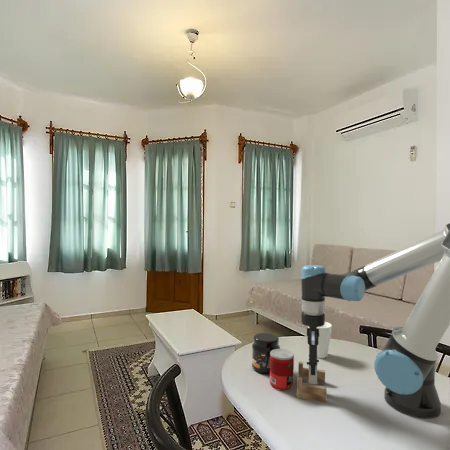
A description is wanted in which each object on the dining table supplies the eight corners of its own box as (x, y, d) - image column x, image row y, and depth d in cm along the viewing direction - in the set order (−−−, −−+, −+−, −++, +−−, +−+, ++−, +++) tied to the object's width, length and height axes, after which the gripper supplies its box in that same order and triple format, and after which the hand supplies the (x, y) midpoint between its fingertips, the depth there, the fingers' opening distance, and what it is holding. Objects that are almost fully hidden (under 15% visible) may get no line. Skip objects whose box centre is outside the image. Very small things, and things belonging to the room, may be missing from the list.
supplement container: (248, 363, 128) (248, 333, 127) (273, 361, 130) (273, 331, 130) (256, 376, 117) (257, 343, 117) (284, 373, 120) (284, 341, 120)
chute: (324, 381, 114) (325, 364, 114) (326, 401, 101) (326, 382, 101) (298, 378, 116) (298, 361, 116) (296, 397, 104) (297, 378, 104)
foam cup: (303, 351, 140) (304, 321, 139) (322, 349, 142) (322, 319, 142) (316, 361, 131) (316, 328, 130) (335, 358, 133) (336, 326, 133)
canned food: (291, 392, 107) (292, 359, 106) (267, 388, 109) (268, 355, 109) (294, 381, 114) (295, 350, 114) (271, 377, 116) (272, 347, 116)
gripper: (301, 306, 115) (301, 372, 116) (300, 316, 103) (300, 391, 103) (324, 307, 114) (323, 375, 114) (325, 318, 101) (325, 394, 101)
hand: (312, 382), depth 108 cm, fingers closed
